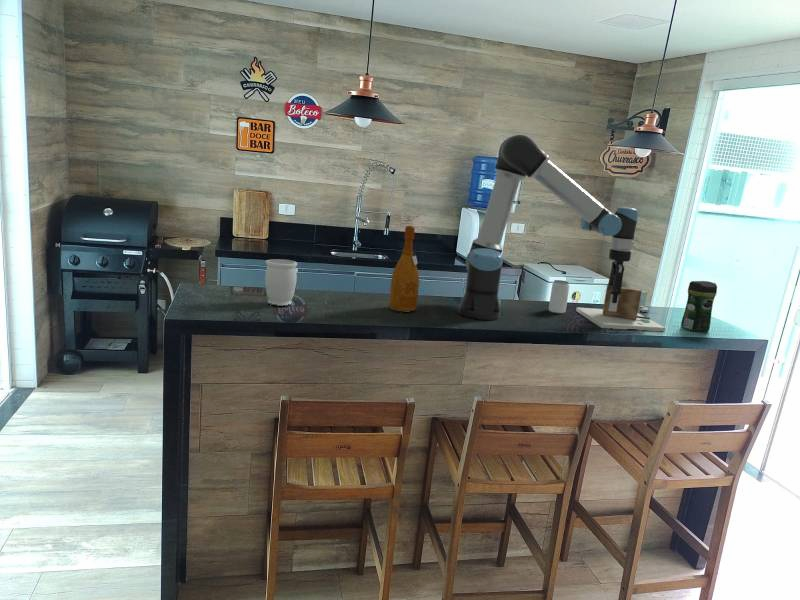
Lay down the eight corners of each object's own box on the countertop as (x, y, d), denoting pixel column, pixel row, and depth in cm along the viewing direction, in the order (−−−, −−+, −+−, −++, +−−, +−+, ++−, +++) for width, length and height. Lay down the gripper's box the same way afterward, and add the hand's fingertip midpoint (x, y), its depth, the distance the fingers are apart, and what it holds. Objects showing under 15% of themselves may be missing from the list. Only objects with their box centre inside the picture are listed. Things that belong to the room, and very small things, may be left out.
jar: (263, 307, 199) (265, 263, 195) (264, 300, 209) (265, 258, 205) (295, 308, 201) (298, 265, 198) (294, 301, 211) (296, 259, 207)
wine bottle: (397, 314, 206) (404, 227, 199) (384, 307, 214) (391, 224, 207) (421, 312, 211) (429, 228, 204) (407, 306, 219) (415, 224, 212)
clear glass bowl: (636, 315, 240) (640, 297, 239) (618, 307, 252) (621, 290, 250) (661, 315, 244) (665, 298, 242) (642, 308, 255) (645, 291, 253)
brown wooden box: (602, 314, 225) (607, 286, 222) (602, 313, 228) (607, 285, 225) (649, 321, 221) (655, 292, 218) (648, 319, 224) (654, 291, 221)
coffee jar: (695, 326, 228) (705, 279, 223) (712, 332, 220) (723, 283, 216) (676, 326, 224) (685, 278, 220) (692, 332, 217) (702, 283, 213)
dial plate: (601, 327, 212) (602, 323, 212) (576, 311, 235) (576, 306, 235) (664, 331, 215) (665, 327, 214) (633, 314, 238) (634, 310, 238)
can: (563, 310, 234) (568, 280, 232) (566, 314, 228) (571, 284, 226) (547, 308, 235) (551, 279, 232) (549, 312, 229) (554, 282, 226)
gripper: (636, 254, 209) (625, 316, 214) (627, 247, 229) (617, 303, 235) (614, 252, 210) (603, 313, 215) (607, 245, 231) (597, 301, 236)
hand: (610, 308), depth 225 cm, fingers open, 9 cm apart
